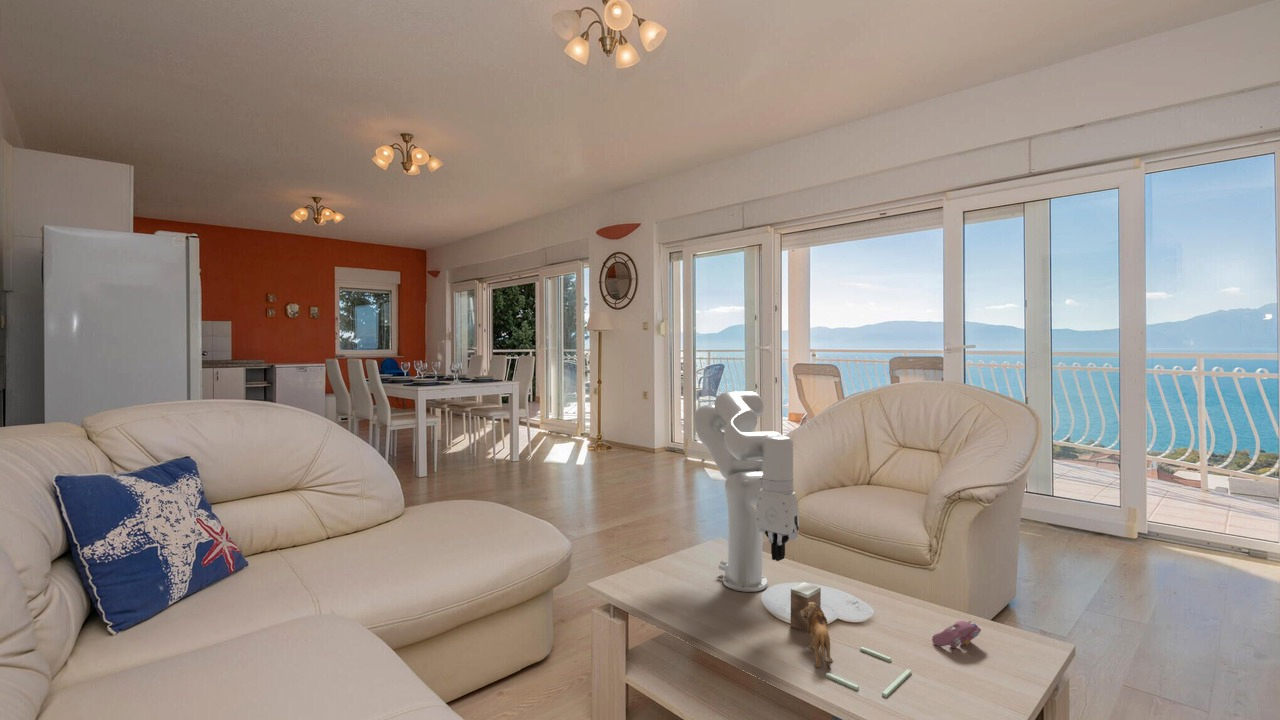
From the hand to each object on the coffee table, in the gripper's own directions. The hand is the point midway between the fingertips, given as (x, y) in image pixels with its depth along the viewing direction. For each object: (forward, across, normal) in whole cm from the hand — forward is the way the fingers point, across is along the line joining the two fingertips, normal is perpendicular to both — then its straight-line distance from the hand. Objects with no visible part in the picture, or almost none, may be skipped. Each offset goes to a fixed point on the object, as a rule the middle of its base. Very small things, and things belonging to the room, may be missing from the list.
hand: (778, 558), depth 144 cm
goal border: (+15, +27, -9) cm, 32 cm away
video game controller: (+15, +36, +17) cm, 42 cm away
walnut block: (+14, +7, 0) cm, 16 cm away
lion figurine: (+15, +16, -9) cm, 24 cm away
